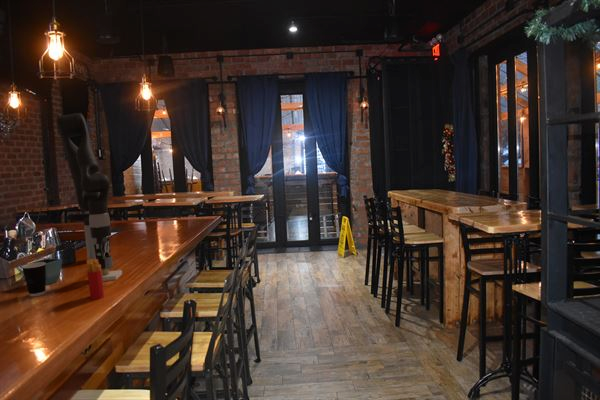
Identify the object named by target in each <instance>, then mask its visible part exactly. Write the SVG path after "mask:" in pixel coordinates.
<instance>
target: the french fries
mask: <svg viewBox="0 0 600 400" xmlns="http://www.w3.org/2000/svg"><path fill="white" fill-rule="evenodd" d="M86 267H87V272H86V273H87V279H88V287H89V289H88V290H89V295H90V300H94V301H95V300H100V299H103V298H104V296H105V292H104V291H105V290H104V281H103V280H102V270H101V265H100V264H99V262H98V260H97V259H94V258H93V259H90V260H88V259H87V260H86Z"/></svg>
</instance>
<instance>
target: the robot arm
mask: <svg viewBox="0 0 600 400" xmlns="http://www.w3.org/2000/svg"><path fill="white" fill-rule="evenodd" d="M56 126H57V131H58V133H59V136H60V139H61V142H62V145H63V148H64V152H65V155H66V161H67V164H68V169H69V171H70V172H69V173H70V176H71V179H72V181H73V185H74V189H75V191H74V192H75V195H76V200H77V205H78V208H79V209H80V210H81V211H85V212H86V211H88V215H89V216H88V217H85V218H84V219H83V228H84V237H85V244H86V253H87V254H86V255H87V260H90V259H93V258H94V259H95V258H96V259H98V261H99V264H100V265H101V269H104V268H106V266H105V256H106V255H110V254H111V242H110V241H111V238H109V237H111V236H112V228H111V221H110V215H109V207H108V200H109V199H108V198H109V197H108V196H109V192H110V191H109V190H110V186H111V180H110V178H109V176H108V175H107V174H105V173H100V174H99V173H98V172H99V170H100V166H99V163H98V160H97V158H96V156H95V153H94V149H93V146H92V145H93V144H92V140H91V136H90V132H89V128H88V123H87V122H86V118H85V117H84V115H83V113H81V112H76V113H75V112H74V113H71V114H65V115H60V116H58V117H56ZM79 136H81V141H80V143H79V145H78V146H77V145H76V144H75V143H74V142H73V141H72V140H71V138H74V137H79ZM97 173H98V174H97Z"/></svg>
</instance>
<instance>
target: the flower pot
mask: <svg viewBox="0 0 600 400" xmlns="http://www.w3.org/2000/svg"><path fill="white" fill-rule="evenodd" d="M37 262H45V263H46V264H45V275H46V286H48V285H51V284H54V283H57V282H58V280H59V279H60V277H61V273H62V258H43V259H40V260H36V261H33V262H29V263H27V264H31V263H37Z"/></svg>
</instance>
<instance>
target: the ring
mask: <svg viewBox="0 0 600 400" xmlns="http://www.w3.org/2000/svg"><path fill="white" fill-rule="evenodd" d="M95 259H96V258H95ZM97 260H98V259H97ZM98 262H99V261H98ZM105 266H106V268H104V269H101V270H106V269H109V270H110V269H112V268H114V263H113V255H110V254H109V255H106V256H105Z"/></svg>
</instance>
